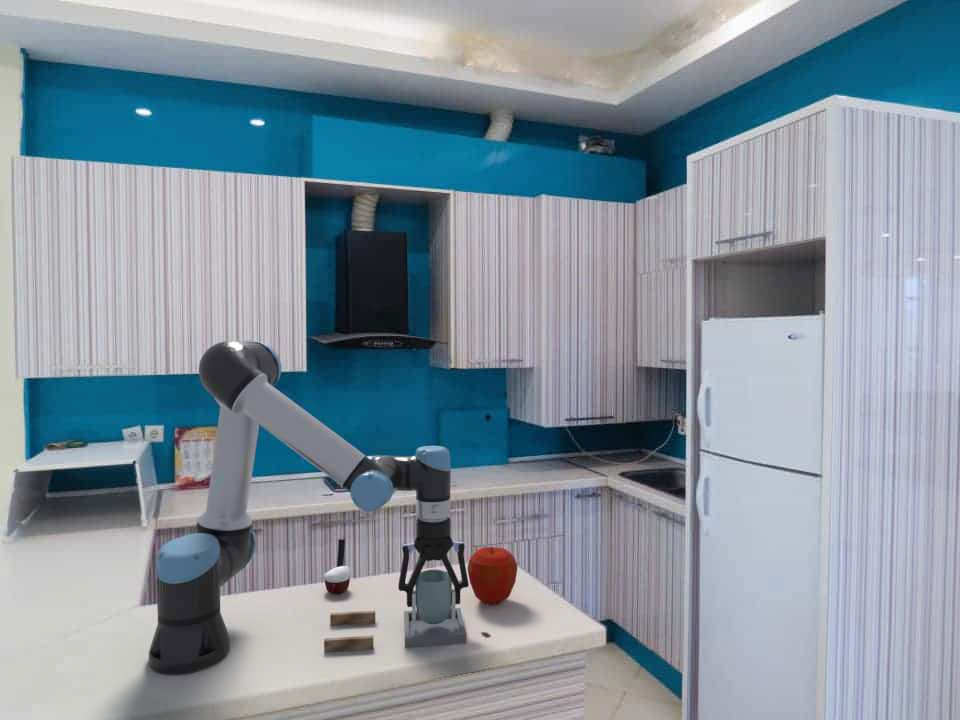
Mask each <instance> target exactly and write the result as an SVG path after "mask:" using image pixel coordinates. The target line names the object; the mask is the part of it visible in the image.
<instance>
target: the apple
mask: <svg viewBox="0 0 960 720" xmlns="http://www.w3.org/2000/svg"><path fill="white" fill-rule="evenodd" d="M467 563H468V564H467V576H468V581H469V584H470V587H471V589H472V591H473V593H474V596H475V598H476V599H477V600H479V601H480V602H482V604H484V605H488V606H494V605H495V606H497V605H500V604H501V603H503V602H505V601H506V600H508V598H509V597H510V595H511V593H512V591H513V588H514V586H515V583H516V580H517V573H518V563H517V562H516V558H515V556H514V555H513V554H512V553H511V552H510V551H509V550H507V549H506V548H503V547H494V546H493V545H491V546H487V547H486V546H485V547H480V548H478V549H477V550H475V551H474V552H473V553H472V554H471V555H470V556H469V561H468V562H467Z"/></svg>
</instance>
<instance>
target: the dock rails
mask: <svg viewBox="0 0 960 720" xmlns="http://www.w3.org/2000/svg"><path fill="white" fill-rule="evenodd" d="M329 617H330V618H329V623H330V624H329V625H330V627H336V626H337V627H338V626H340V627H341V626H354V625H369V624H370V625H373V624H376V610H365V611H348V612H347V611H346V612H344V611H343V612H331V613H330V614H329ZM374 644H375V643H374V635H360V636H359V635H358V636H343V637H330V638H328V637H327V638H324V640H323V651H324V653H326V654H327V653H339V652H340V653H341V652H356V651H370V650H374V646H375V645H374Z"/></svg>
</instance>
